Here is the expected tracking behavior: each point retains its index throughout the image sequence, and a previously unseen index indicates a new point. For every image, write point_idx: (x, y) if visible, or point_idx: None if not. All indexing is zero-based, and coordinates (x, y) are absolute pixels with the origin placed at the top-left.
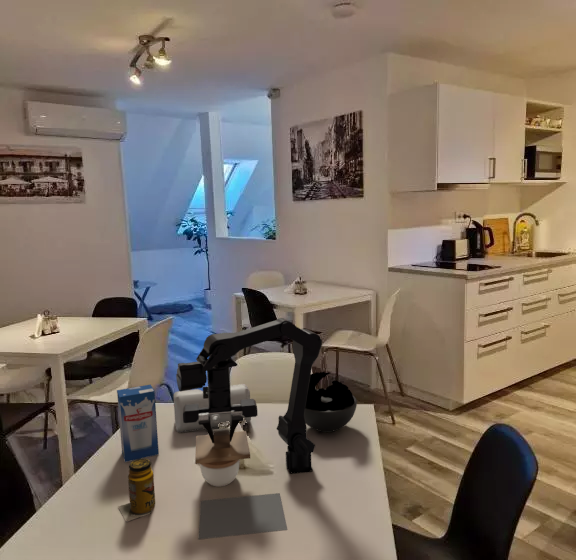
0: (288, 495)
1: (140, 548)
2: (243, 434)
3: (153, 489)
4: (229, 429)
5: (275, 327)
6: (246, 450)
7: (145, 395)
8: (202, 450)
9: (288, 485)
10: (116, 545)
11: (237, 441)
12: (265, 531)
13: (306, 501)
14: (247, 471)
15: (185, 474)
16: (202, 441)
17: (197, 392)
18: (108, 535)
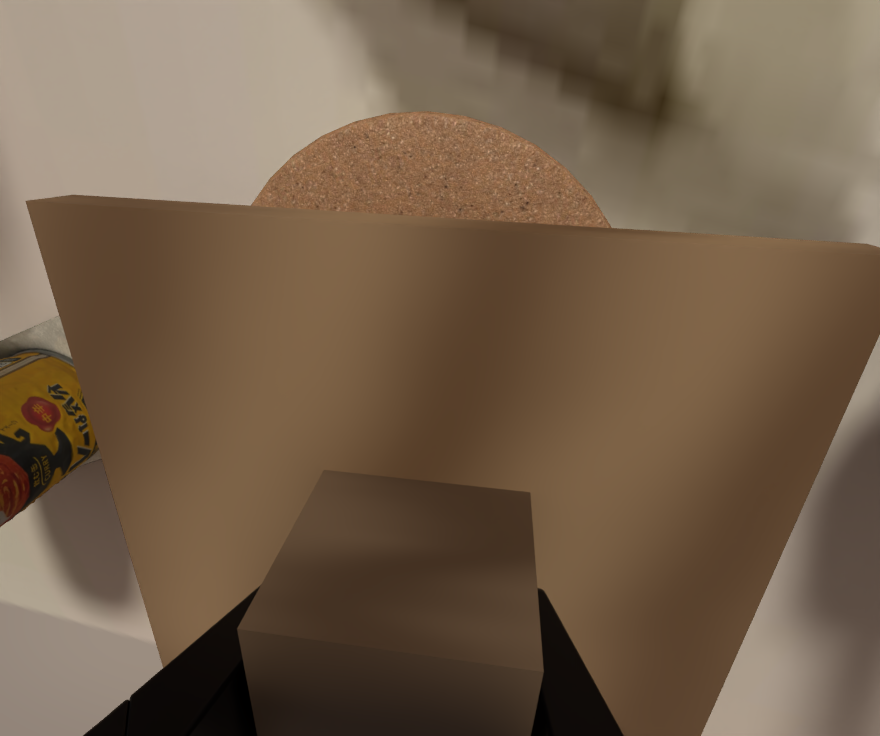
0: (802, 513)
1: (145, 618)
2: (802, 381)
3: (33, 480)
4: (544, 727)
5: None
6: (668, 731)
7: None
8: (209, 596)
9: (859, 430)
10: (58, 584)
11: (632, 543)
12: None
13: (864, 579)
14: (664, 179)
15: (202, 98)
16: (168, 410)
17: None
18: (2, 531)
